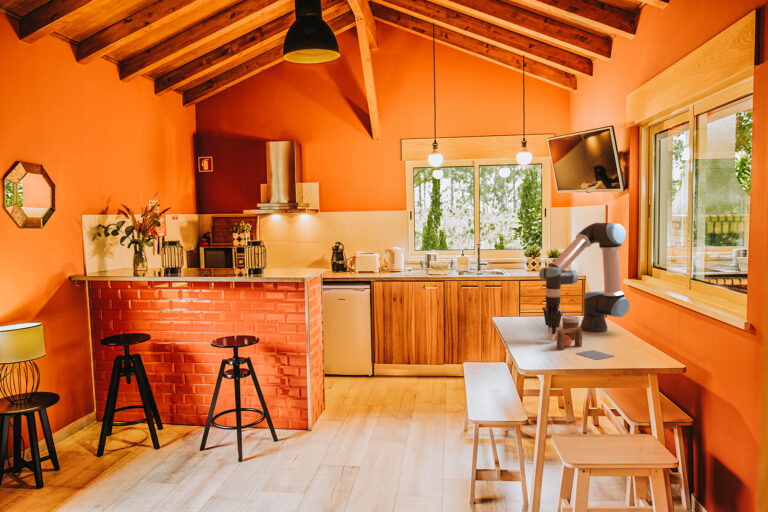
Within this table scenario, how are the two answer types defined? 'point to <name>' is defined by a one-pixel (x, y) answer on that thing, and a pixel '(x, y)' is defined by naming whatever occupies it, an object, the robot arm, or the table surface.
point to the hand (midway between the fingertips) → (552, 339)
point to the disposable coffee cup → (570, 325)
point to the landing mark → (595, 354)
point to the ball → (567, 341)
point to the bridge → (561, 332)
